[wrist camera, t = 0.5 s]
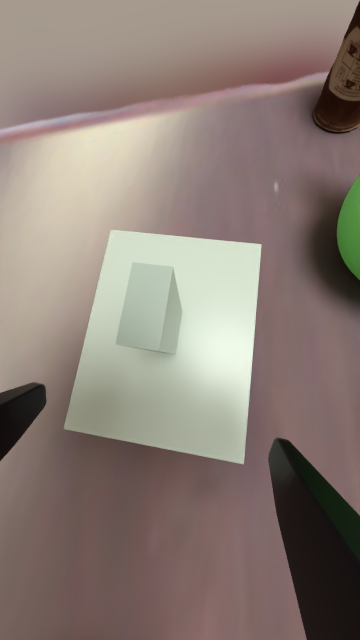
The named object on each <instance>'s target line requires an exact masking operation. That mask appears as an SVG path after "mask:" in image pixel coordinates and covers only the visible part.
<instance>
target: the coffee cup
mask: <svg viewBox="0 0 360 640" xmlns="http://www.w3.org/2000/svg"><path fill="white" fill-rule="evenodd" d="M313 115H314V119H315V121H316V122H317V123H318V124H319V125H320V126H321V127H323V128H325V129H327V130H329V131H334V132H344V131H351V130H352V129H354V128H357V127H358V126H359V125H360V1H359V3H358V6H357V8H356V10H355V13H354V16H353V18H352V21H351V23H350V25H349V27H348V30H347V32H346V34H345V36H344V39H343V42H342V45H341V47H340V50H339V52H338V55H337V57H336V60H335V62H334V64H333V66H332V68H331V70H330V72H329V74H328V76H327V79H326V81H325V84H324V87H323V90H322V93H321V95H320V98H319V100H318V102H317V104H316V106H315V109H314V111H313Z"/></svg>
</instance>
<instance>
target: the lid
mask: <svg viewBox="0 0 360 640" xmlns="http://www.w3.org/2000/svg"><path fill="white" fill-rule="evenodd" d="M260 256H261V244H252V243H242V242H231V241H221V240H211V239H200V238H190V237H180V236H170V235H159V234H149V233H139V232H128V231H118V230H111V232H110V236H109V240H108V244H107V249H106V253H105V257H104V261H103V265H102V270H101V274H100V278H99V282H98V286H97V291H96V295H95V299H94V303H93V307H92V312H91V316H90V320H89V324H88V328H87V332H86V337H85V341H84V345H83V349H82V353H81V358H80V362H79V366H78V370H77V374H76V379H75V383H74V387H73V391H72V395H71V400H70V404H69V408H68V412H67V416H66V421H65V425H64V429H66V430H71V431H76V432H81V433H87V434H92V435H97V436H102V437H107V438H112V439H117V440H122V441H127V442H133V443H138V444H143V445H148V446H153V447H158V448H163V449H168V450H174V451H179V452H184V453H189V454H194V455H199V456H204V457H209V458H214V459H220V460H225V461H230V462H235V463H240V464H244V456H245V443H246V431H247V418H248V406H249V393H250V381H251V368H252V356H253V343H254V331H255V318H256V306H257V293H258V281H259V268H260Z"/></svg>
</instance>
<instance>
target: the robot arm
mask: <svg viewBox="0 0 360 640" xmlns="http://www.w3.org/2000/svg"><path fill="white" fill-rule="evenodd" d="M45 405H46V388H45V385H43V384H40V383H36V382H33V383H30V384H27V385H23V386H20V387H17V388H14V389H11V390H8V391H5V392H2V393H0V461H1V460H2V459H3V457H4V456H5V455H6V454H7V453H8V452H9V451H10V450H11V448H12V447H13V446H14V445H15V444H16V443H17V441H18V440H19V439H20V438H21V436H22V435H23V434H24V433H25V431H26V430H27V429H28V427H29V426H30V425H31V424H32V422H33V421H34V420H35V418H36V417H37V416H38V415H39V413H40V412H41V411H42V409H43V408H44V407H45ZM268 460H269V467H270V474H271V481H272V487H273V494H274V500H275V507H276V512H277V517H278V522H279V526H280V530H281V535H282V539H283V543H284V547H285V551H286V555H287V559H288V564H289V568H290V572H291V576H292V580H293V584H294V588H295V593H296V597H297V601H298V605H299V609H300V613H301V617H302V622H303V626H304V630H305V634H306V638H307V640H360V516H359V514H358V513H357V512H356V511H355V510H354V509H353V508H352V507H351V506H350V505H349V504H348V503H347V502H346V501H345V500H344V499H343V497H342V496H341V495H340V494H339V493H338V492H337V491H336V490H335V489H334V488H333V487H332V486H331V485H330V484H329V483H328V482H327V480H326V479H325V478H324V477H323V476H322V475H321V474H320V473H319V472H318V471H317V470H316V469H315V468H314V467H313V466H312V465H311V463H310V462H309V461H308V460H307V459H306V458H305V457H304V456H303V455H302V454H301V453H300V452H299V451H298V450H297V449H296V448H295V446H294V445H293V444H292V443H291V442H290V441H288V440H286V439H282V438H275V439H274V442H273V444H272V447H271V450H270V452H269V457H268Z"/></svg>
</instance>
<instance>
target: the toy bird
mask: <svg viewBox="0 0 360 640" xmlns="http://www.w3.org/2000/svg"><path fill="white" fill-rule="evenodd" d="M337 242H338V247H339V251H340V254H341V256H342V258H343V260H344V262H345V264H346V265H347V267H348V268H349V269H350V271H351V272H352V273H353V274H354V275H355V276H356V277H357V278H358V279H359V280H360V175H359V176H358V178H357V179H356V181H355V182H354V184H353V185H352V187H351V188H350V190H349V192H348V194H347V196H346V198H345V200H344V202H343V205H342V208H341V211H340V214H339V218H338V224H337Z"/></svg>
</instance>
